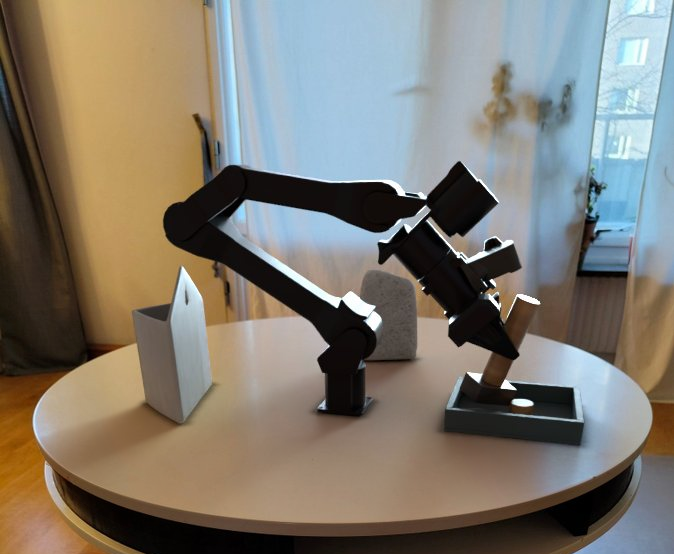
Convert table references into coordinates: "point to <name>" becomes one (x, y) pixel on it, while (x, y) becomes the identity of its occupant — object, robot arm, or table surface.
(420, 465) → the table surface
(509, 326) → the brush
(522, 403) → the orange brown short cylinder
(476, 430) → the tray
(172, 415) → the planter
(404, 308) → the decorative stone
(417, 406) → the table surface
